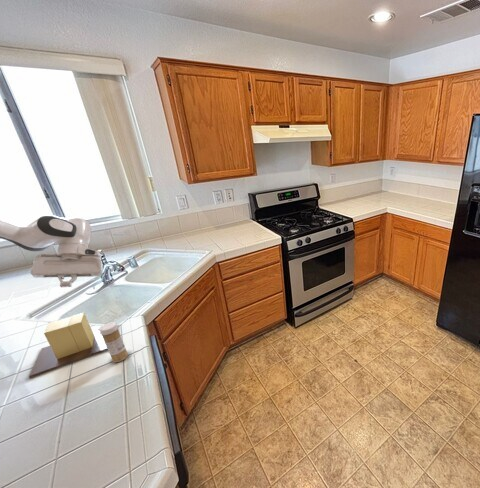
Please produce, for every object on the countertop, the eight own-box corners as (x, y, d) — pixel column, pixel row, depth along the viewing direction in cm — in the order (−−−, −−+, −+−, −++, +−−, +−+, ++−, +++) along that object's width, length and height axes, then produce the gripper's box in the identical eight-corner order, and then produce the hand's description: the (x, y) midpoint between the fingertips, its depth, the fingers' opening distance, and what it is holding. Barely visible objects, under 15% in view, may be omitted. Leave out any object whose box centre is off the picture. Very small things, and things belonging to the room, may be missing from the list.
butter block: (57, 359, 90) (43, 333, 87) (61, 347, 96) (49, 322, 92) (79, 351, 94) (67, 325, 90) (82, 340, 99) (71, 316, 95)
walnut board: (29, 378, 84) (28, 376, 84) (42, 349, 96) (41, 348, 96) (114, 347, 96) (113, 345, 95) (116, 326, 108) (115, 324, 108)
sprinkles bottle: (124, 351, 93) (111, 320, 89) (131, 355, 91) (119, 323, 87) (109, 360, 90) (95, 328, 85) (116, 364, 88) (103, 331, 83)
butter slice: (80, 351, 94) (68, 325, 90) (83, 340, 99) (72, 315, 96) (92, 347, 95) (81, 322, 92) (94, 336, 101) (84, 312, 98)
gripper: (32, 250, 97) (22, 284, 91) (103, 251, 108) (98, 282, 102) (38, 258, 102) (28, 291, 96) (105, 258, 113) (101, 288, 107)
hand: (65, 286), depth 99 cm, fingers closed
